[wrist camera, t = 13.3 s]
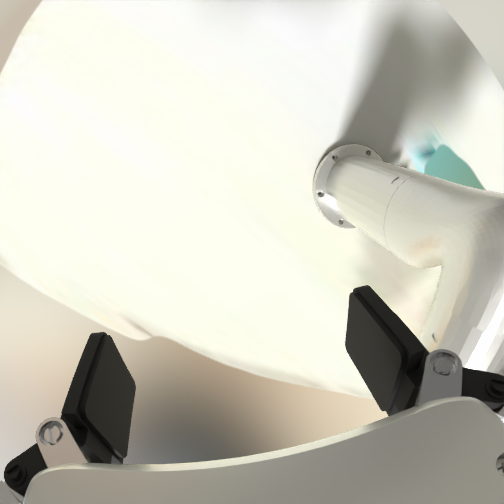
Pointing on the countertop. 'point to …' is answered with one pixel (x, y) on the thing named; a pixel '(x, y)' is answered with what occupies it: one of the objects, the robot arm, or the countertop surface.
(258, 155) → the countertop surface
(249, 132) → the countertop surface
